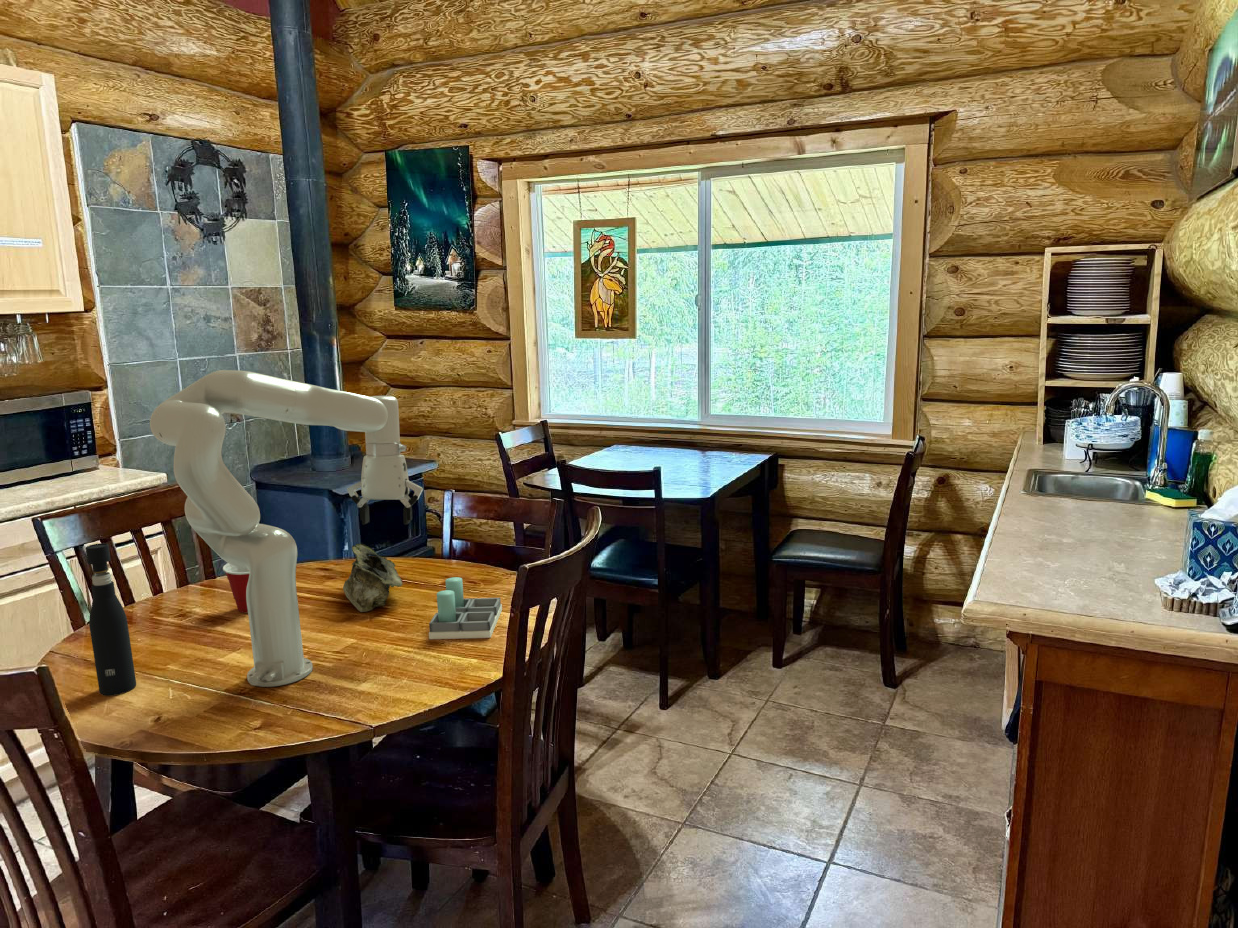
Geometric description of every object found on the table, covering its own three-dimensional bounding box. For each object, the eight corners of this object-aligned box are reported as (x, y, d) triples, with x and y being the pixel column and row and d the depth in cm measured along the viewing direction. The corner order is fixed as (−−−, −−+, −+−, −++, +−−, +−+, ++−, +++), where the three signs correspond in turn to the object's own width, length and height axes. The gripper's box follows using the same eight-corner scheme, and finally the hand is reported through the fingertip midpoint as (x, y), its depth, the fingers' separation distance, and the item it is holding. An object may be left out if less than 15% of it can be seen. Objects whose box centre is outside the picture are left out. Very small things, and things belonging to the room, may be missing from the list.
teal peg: (465, 608, 203) (463, 576, 202) (462, 614, 199) (460, 582, 198) (449, 608, 203) (447, 577, 202) (446, 614, 200) (443, 582, 198)
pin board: (490, 637, 188) (488, 597, 187) (429, 639, 189) (426, 599, 187) (502, 609, 206) (500, 572, 204) (446, 610, 206) (443, 574, 204)
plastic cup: (242, 619, 204) (236, 573, 202) (219, 611, 211) (214, 565, 209) (282, 606, 213) (277, 561, 211) (259, 598, 219) (255, 555, 217)
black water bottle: (129, 678, 172) (108, 539, 167) (141, 687, 168) (121, 544, 163) (94, 690, 167) (72, 547, 162) (106, 698, 163) (84, 552, 158)
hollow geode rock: (371, 596, 233) (329, 563, 228) (403, 563, 233) (361, 529, 229) (367, 630, 206) (319, 592, 202) (403, 591, 207) (355, 553, 202)
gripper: (425, 448, 193) (427, 520, 195) (351, 448, 193) (355, 519, 196) (416, 452, 185) (419, 527, 188) (339, 452, 186) (343, 526, 188)
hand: (386, 523), depth 192 cm, fingers open, 9 cm apart
